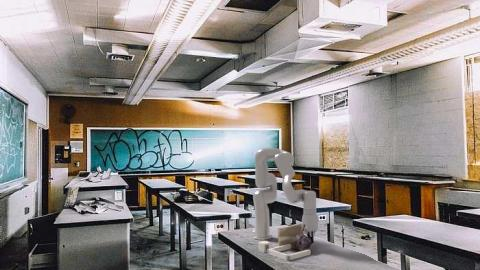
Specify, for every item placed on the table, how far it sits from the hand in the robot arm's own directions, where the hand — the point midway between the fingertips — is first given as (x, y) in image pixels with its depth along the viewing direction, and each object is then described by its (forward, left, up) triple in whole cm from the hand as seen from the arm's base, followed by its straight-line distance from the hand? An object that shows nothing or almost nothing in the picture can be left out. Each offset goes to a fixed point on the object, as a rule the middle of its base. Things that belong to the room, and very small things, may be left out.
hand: (310, 242), depth 225 cm
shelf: (-11, -5, -3) cm, 13 cm away
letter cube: (-14, -24, -3) cm, 28 cm away
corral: (0, -17, -3) cm, 17 cm away
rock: (0, -7, -3) cm, 8 cm away
